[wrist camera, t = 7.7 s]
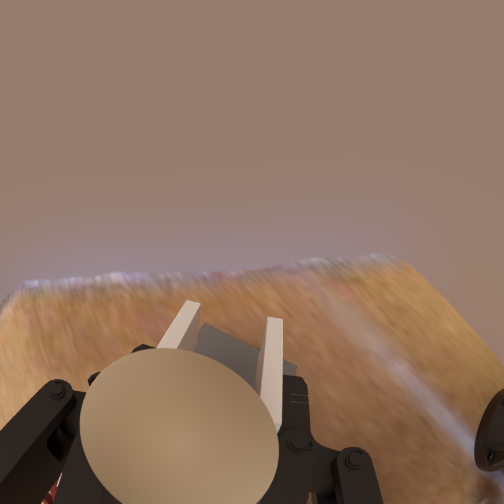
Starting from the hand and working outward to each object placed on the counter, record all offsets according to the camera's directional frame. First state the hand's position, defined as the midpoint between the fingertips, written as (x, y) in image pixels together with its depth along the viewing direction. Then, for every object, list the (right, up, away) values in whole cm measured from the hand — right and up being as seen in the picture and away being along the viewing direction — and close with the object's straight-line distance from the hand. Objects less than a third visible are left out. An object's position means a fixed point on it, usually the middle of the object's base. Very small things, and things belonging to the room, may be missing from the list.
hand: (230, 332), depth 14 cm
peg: (-1, -5, +2) cm, 6 cm away
